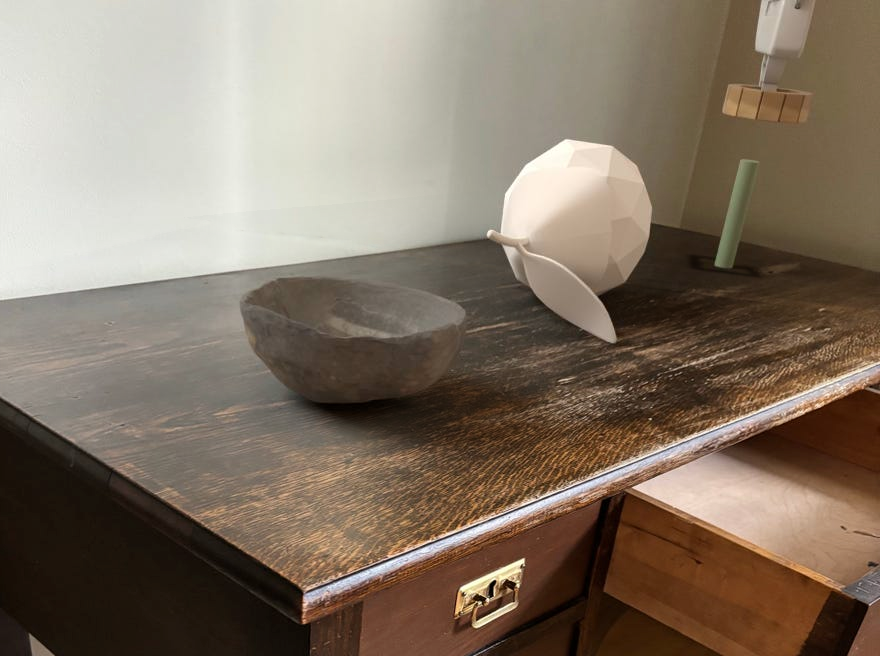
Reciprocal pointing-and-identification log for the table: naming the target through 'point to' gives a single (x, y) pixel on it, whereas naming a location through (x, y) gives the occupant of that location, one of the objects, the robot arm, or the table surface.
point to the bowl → (352, 336)
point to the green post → (736, 213)
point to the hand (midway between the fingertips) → (764, 98)
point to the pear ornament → (576, 229)
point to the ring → (767, 104)
